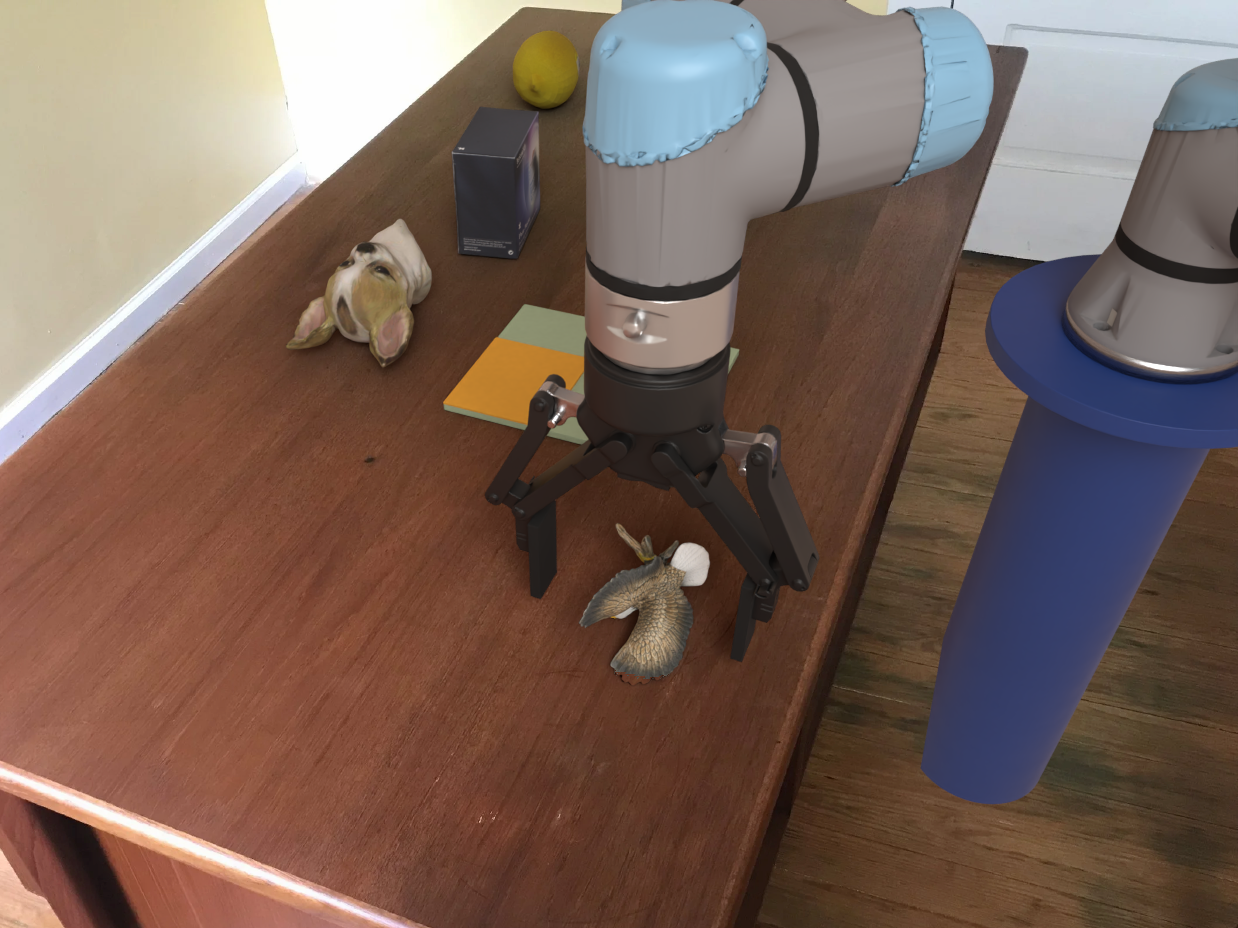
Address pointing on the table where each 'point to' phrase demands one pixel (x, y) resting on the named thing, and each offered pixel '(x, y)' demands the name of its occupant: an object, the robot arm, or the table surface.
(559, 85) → the lemon
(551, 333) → the corner mat
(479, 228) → the small box
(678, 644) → the eagle figurine
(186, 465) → the table surface
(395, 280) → the ceramic sculpture
